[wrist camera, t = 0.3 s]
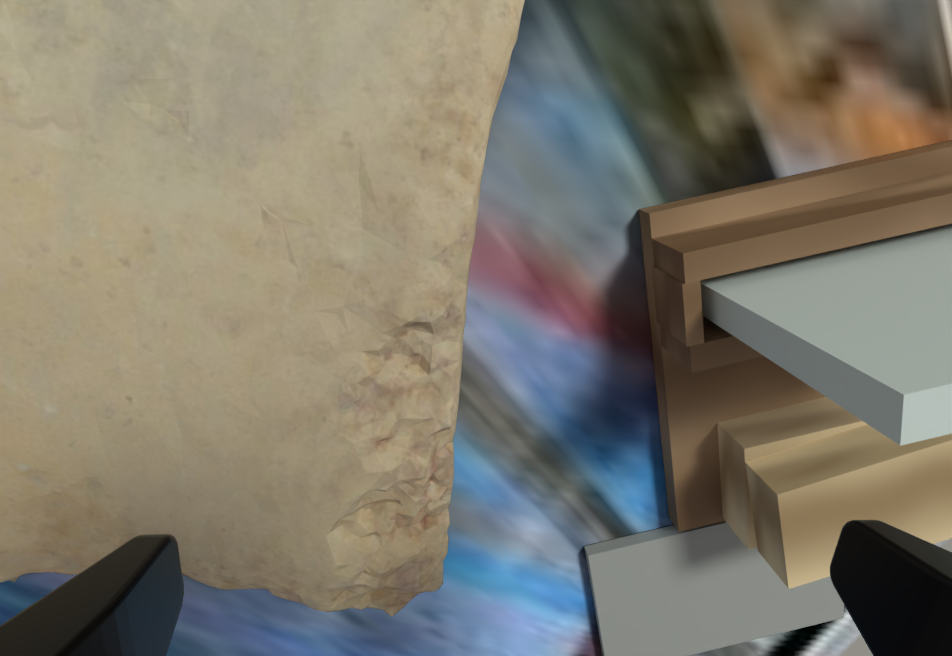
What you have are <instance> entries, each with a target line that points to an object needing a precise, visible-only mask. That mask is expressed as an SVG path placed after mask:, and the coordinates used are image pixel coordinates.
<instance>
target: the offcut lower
mask: <svg viewBox="0 0 952 656" xmlns="http://www.w3.org/2000/svg"><path fill="white" fill-rule="evenodd" d="M717 425H718V442H719V460H720V477H721V495H722V512H723V519H724V520H725V521H726V522H727V524H728V525H729V526H730V527H731V529H732V530H733V531H734V532H735V534H736V535H737V536H738V538H739V539H740V540H741V541H742V543H743V544H744V545H745V546H746V548H747V549H748V550H750V549H754V548H758V547H757V540H756V533H755V526H754V519H753V512H752V505H751V498H750V491H749V484H748V477H747V470H746V463H745V462H748V461H751V460H754V459H758V458H761V457H764V456H767V455H770V454H774V453H777V452H780V451H783V450H786V449H790V448H793V447H796V446H799V445H802V444H806V443H809V442H812V441H815V440H818V439H821V438H825V437H828V436H831V435H834V434H837V433H841V432H844V431H847V430H850V429H853V428H857V427H860V426H863V425H866V423H865V422H863V421H862V420H860V419H859V418H857V417H856V416H854V415H853V414H851V413H850V412H848V411H847V410H845V409H844V408H842V407H841V406H839V405H838V404H836V403H835V402H833V401H832V400H830V399H828V398H827V397H824V398H820V399H816V400H812V401H807V402H803V403H799V404H794V405H790V406H786V407H782V408H777V409H773V410H769V411H765V412H760V413H756V414H752V415H747V416H743V417H739V418H735V419H730V420H726V421H722V422H717Z"/></svg>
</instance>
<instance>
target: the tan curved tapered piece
mask: <svg viewBox="0 0 952 656" xmlns="http://www.w3.org/2000/svg"><path fill="white" fill-rule="evenodd" d="M524 1H525V0H0V582H4V581H7V580H10V581H13V582H15V581H16V580H17V579H18V577H19V576H21V575H24V574H26V573H39V572H55V573H63V574H69V575H72V574H79V573H81V572H82V571H84V570H85V569H87V568H88V567H90V566H91V565H93V564H94V563H96V562H97V561H99V560H100V559H102V558H103V557H105V556H106V555H108V554H109V553H111V552H112V551H114V550H115V549H117V548H118V547H120V546H121V545H123V544H124V543H126V542H127V541H129V540H131V539H132V538H134V537H136V536H138V535H143V534H171V535H173V536H174V537H175V538H176V540H177V542H178V548H179V555H180V562H181V570H182V574H184V575H186V576H188V577H190V578H192V579H194V580H196V581H199V582H201V583H204V584H206V585H209V586H211V587H215V588H219V589H222V590H231V589H267V590H269V591H270V592H271V593H272V594H273V595H274V596H277V597H280V598H283V599H287V600H291V601H296V602H300V603H302V604H304V605H306V606H308V607H311V608H313V609H315V610H319V611H326V612H330V611H339V610H344V609H348V608H352V607H353V608H357V609H361V610H362V609H364V608H367V607H369V608H376V609H382V610H384V611H385V612H386V613H387V614H389V615H390V616H391V617H392V616H393V615H395V614H396V613H397V612H398V611H400V610H401V609H402V608H403V607H404V606H405V605H406V604H407V603H408V602H409V601H410V600H411V599H412V598H414V597H415V596H416V595H417V594H419V593H422V592H426V591H436V590H438V589H439V588H440V587H441V585H442V584H443V561H444V559H445V557H446V555H447V551H448V540H449V539H448V535H447V531H448V528H449V525H450V520H449V510H448V507H449V506H450V499H451V494H452V486H453V477H454V449H453V436H454V433H455V428H456V420H457V412H458V404H459V392H460V380H461V367H462V351H463V334H464V327H465V319H466V297H467V285H468V275H469V268H470V260H471V254H472V249H473V243H474V238H475V230H476V221H477V213H478V203H479V193H480V183H481V177H482V172H483V166H484V160H485V154H486V149H487V144H488V139H489V134H490V129H491V123H492V118H493V114H494V111H495V108H496V105H497V102H498V99H499V96H500V93H501V90H502V87H503V85H504V82H505V79H506V76H507V72H508V67H509V62H510V58H511V53H512V50H513V48H514V45H515V43H516V40H517V36H518V30H519V25H520V19H521V14H522V10H523V5H524Z"/></svg>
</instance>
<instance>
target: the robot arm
mask: <svg viewBox="0 0 952 656" xmlns="http://www.w3.org/2000/svg"><path fill="white" fill-rule="evenodd" d="M830 577H831V581H832V584H833V586H834V588H835V589H836V591H837V593H838V595H839V596H840V598H841V600H842V602H843V603H844V605H845V607H846V609H847V610H848V612H849V614H850V616H851V617H852V619H853V621H854V623H855V624H856V626H857V628H858V630H859V631H860V633H861V635H862V637H863V638H864V640H865V642H866V644H867V645H868V647H869V649H870V651H871V652H872V654H873V656H952V552H949V551H947V550H945V549H943V548H941V547H938V546H936V545H934V544H932V543H929V542H927V541H925V540H923V539H920V538H918V537H916V536H914V535H911V534H909V533H907V532H905V531H903V530H900V529H898V528H896V527H894V526H891V525H889V524H887V523H885V522H882V521H879V520H851V521H848V522H847V523H846V524H845V525H844V526H843V528H842V530H841V533H840V536H839V539H838V542H837V545H836V548H835V551H834V555H833V558H832V561H831V564H830ZM183 595H184V584H183V577H182V570H181V562H180V555H179V548H178V542H177V540H176V538H175V537H174V536H173V535H171V534H143V535H138V536H136V537H134V538H132V539H131V540H129V541H127V542H126V543H124V544H123V545H121V546H120V547H118V548H117V549H115V550H114V551H112V552H111V553H109V554H108V555H106V556H105V557H103V558H102V559H100V560H99V561H97V562H96V563H94V564H93V565H91V566H90V567H88V568H87V569H85V570H84V571H82V572H81V573H79V574H78V575H76V576H75V577H73V578H72V579H70V580H69V581H67V582H66V583H64V584H63V585H61V586H60V587H58V588H57V589H55V590H54V591H52V592H51V593H49V594H48V595H46V596H44V597H43V598H41V599H40V600H38V601H37V602H35V603H34V604H32V605H31V606H29V607H28V608H26V609H25V610H23V611H22V612H20V613H19V614H17V615H16V616H14V617H13V618H11V619H10V620H8V621H7V622H5V623H4V624H2V625H1V626H0V656H166V654H167V651H168V648H169V645H170V642H171V638H172V635H173V632H174V629H175V626H176V623H177V619H178V616H179V613H180V610H181V606H182V602H183Z"/></svg>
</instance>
